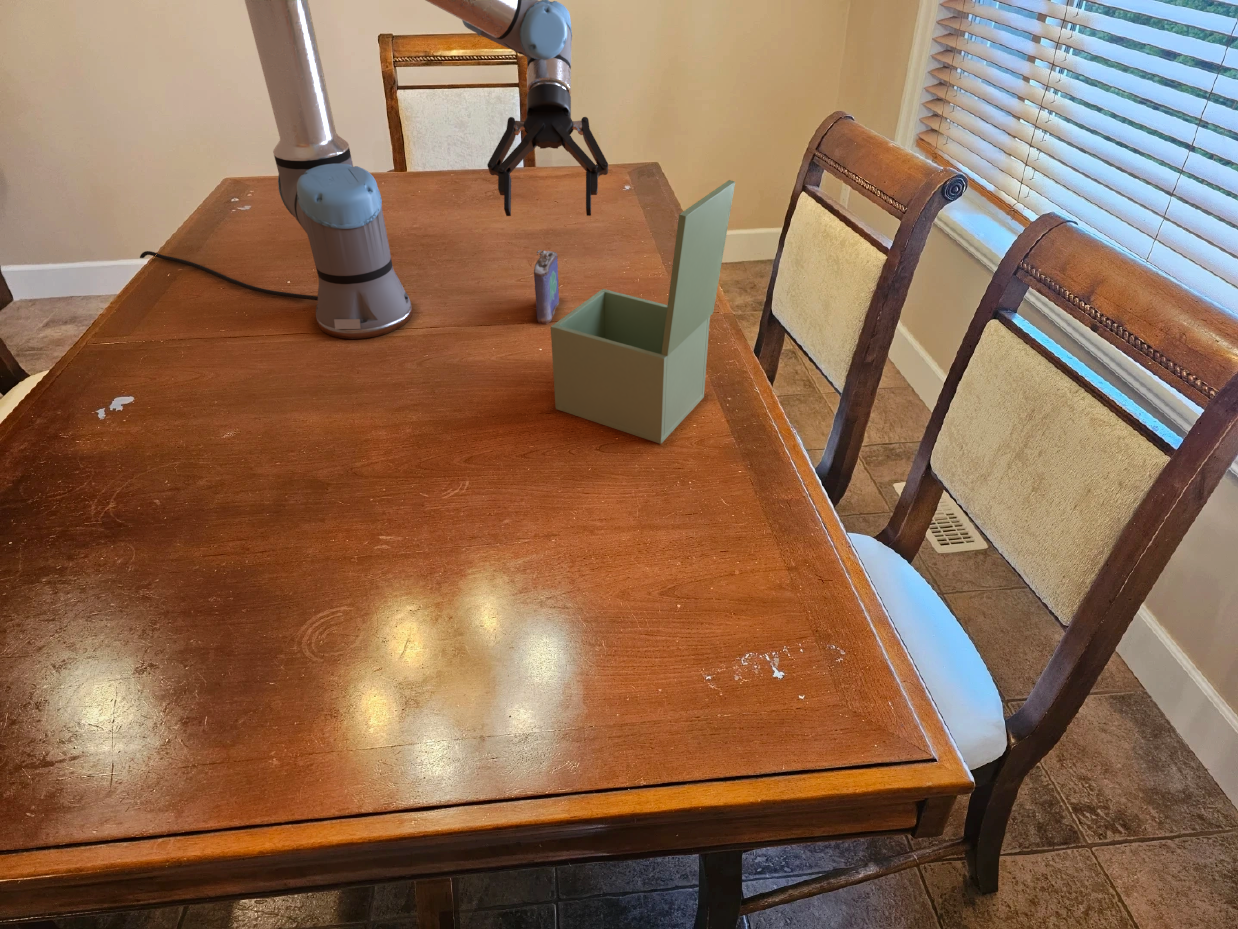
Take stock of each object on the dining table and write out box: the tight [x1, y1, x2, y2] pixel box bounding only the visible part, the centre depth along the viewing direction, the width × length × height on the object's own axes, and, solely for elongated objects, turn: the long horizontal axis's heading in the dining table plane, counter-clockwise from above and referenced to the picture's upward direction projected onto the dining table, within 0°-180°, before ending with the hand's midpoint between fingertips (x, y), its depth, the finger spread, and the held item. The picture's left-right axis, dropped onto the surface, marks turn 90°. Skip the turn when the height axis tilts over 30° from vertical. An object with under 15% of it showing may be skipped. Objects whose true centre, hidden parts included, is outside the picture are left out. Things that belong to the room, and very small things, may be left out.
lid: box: [662, 179, 736, 356], centre depth 95 cm, size 18×13×1 cm
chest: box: [550, 288, 711, 445], centre depth 108 cm, size 17×13×13 cm
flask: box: [533, 249, 560, 325], centre depth 131 cm, size 9×3×11 cm, turn 172°
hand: (548, 212), depth 133 cm, fingers open, 13 cm apart
